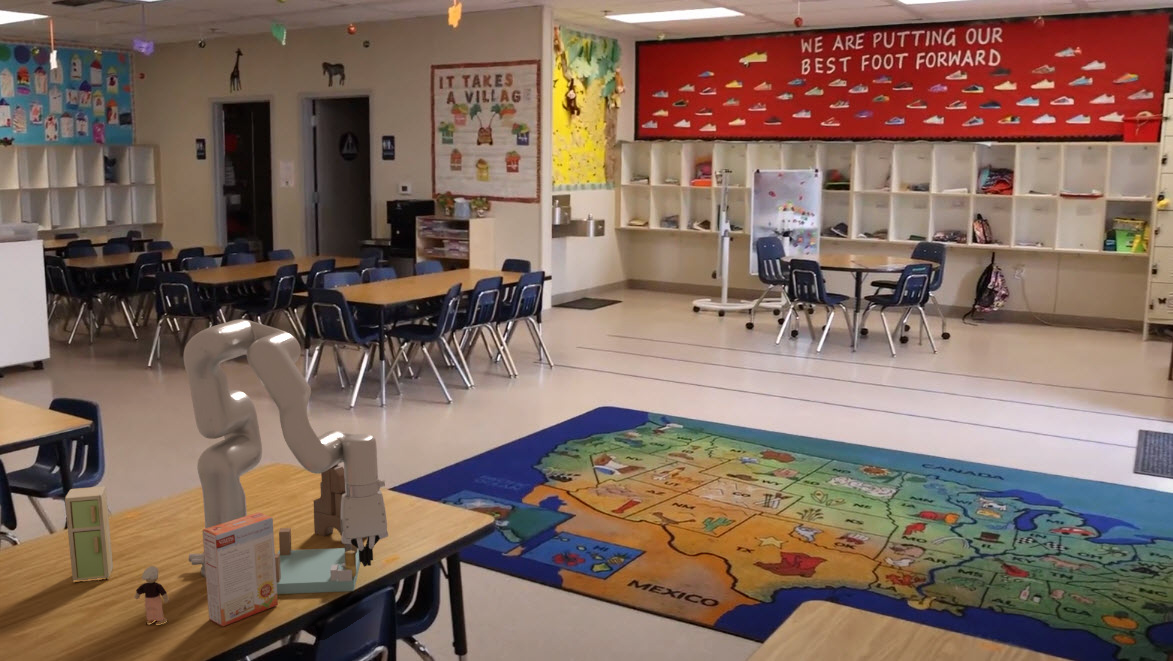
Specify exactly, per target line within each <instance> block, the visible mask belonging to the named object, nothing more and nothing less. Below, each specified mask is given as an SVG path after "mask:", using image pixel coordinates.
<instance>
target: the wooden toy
mask: <svg viewBox="0 0 1173 661" xmlns="http://www.w3.org/2000/svg"><path fill="white" fill-rule="evenodd" d="M320 476H321V481H320V483H319V484H320V497H319V498H316V499H314V500H313V526H314V527H313V528H314V534H315V535H319V536H323V537H325V536H328V535H331V534H333V533H334V529H335V530H337V531H338V533H339V535H340V536H341V538H342V532H341V499H342V495H343V494H345V476H344V466H343V465H339V464H337V465H335V466H333V467H332V468H330V469H329V470H327V471H325V472H323V473H320ZM364 539H367V537H363V538H362V540H364Z"/></svg>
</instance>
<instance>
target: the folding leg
mask: <svg viewBox="0 0 1173 661" xmlns="http://www.w3.org/2000/svg"><path fill="white" fill-rule="evenodd" d="M344 548H345V569H346V570H347V569H352V577H354V576H356V552H355V551H352V545H351V544H344Z"/></svg>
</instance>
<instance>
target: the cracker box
mask: <svg viewBox="0 0 1173 661" xmlns="http://www.w3.org/2000/svg"><path fill="white" fill-rule="evenodd" d="M274 535H275V534H274V518H273V517H272V516H269V515H267V514H264V513H261V512H259V511H257V512H255V513H251V514H249V515H248V514H247V516H245V517H241V518H238V519H235V520H232V521H229V522H225V523H222V524H219V525H216V526H212V527H209V528H206V529H205V528H203V529H202V542H203V543H202V544H203V552H204V558H205V571H206V577H205V581H206V593H207V596H206V597H207V608H208V609H207V610H208V611H207V612H208V619H209V620H210V621H212V622H214V623H215V624H217V625H219V626H221V627H225V626H228V625H231V624H233V623H235V622H238V621H240V620H243V619H245V618H248V617H251V616H253V615H256V614H258V613H261V612H263V611H267V610H268V609H272V608H274V607H276V606H278V604H279V603H278V594H277V582H276V565H275V554H276V553H275V551H276V550H275V536H274Z"/></svg>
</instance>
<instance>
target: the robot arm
mask: <svg viewBox="0 0 1173 661" xmlns="http://www.w3.org/2000/svg"><path fill="white" fill-rule="evenodd" d="M301 349H302V348H301V345H300V342H299V341H298V340H297V338H296V337H295V336H294V335H292V334H291V333H289V332H287V331H285V330H281V329H279V328H276V327H273V326H269V325H267V324H266V325H265V324H262V323H260V322H256V321H252V320H249V319H233V320H229V321H227V322H224V323H219V324H217V325H216V324H215V325H213V326H210V327H207V328H205V329H203V330H201V331H199V332H198V333H196V334H194V335H192V336H191V338H190V339H189V340H188V342H187V343H186V345H185V347H184V351H183V364H184V368H185V372H186V374H187V380H188V384H189V388H190V389H189V390H190V396H191V397H190V398H191V401H192V402H191V403H192V407H193V408H192V409H193V412H194V413H193V414H194V417H195V424H196V427H197V430H198V432H199V434H200V435H201V436H203V438H206V439H209V440H214V439H219V438H222V437H223V439H222V440H220V441H218V442H216V443H214V444H212V445H211V446H209V447H207V448H206V449H205V450H204V451H203V452H202V453H201V455H200V456H199V458H198V460H197V467H196V468H197V474H198V479H199V481H200V485H201V490H202V499H203V511H204V512H203V514H204V529H206V528H209V527H212V526H216V525H219V524H222V523H225V522H229V521H232V520H235V519H238V518H241V517H245V516H248V512H247V499H246V497H247V496H246V493H245V489H244V487H243V485H242V483H241V480H240V479H241V478H240V477H242V476H243V475H244V474H246V473H248V472H250V471H251V470H253V469H254V468H256V467H257V466H258V465H259V463H260V462H261V460H262V457H263V445H262V438H261V432H260V427H259V420H258V415H257V409H256V406H255V404H254V402H253V400H252V398H250V396H249V395H248V394H246V392H243V391H241V390H237V389H232V390H230V385H229V379H228V376H227V374H226V372H225V371H224V369H223V367H222V366H221V363H223V362H226V361H229V360H232V359H235V358H239V357H241V356H244V355H246V360H247V362H248V364H249V366H250V368H251V370H252V371H253V373H254V374H255V375H256V377H257V378H258V380H259V381H260V383H261V384H262V386H263V387H264V389H265V390H266V392H267V393H268V394H269V395H268V396H270V398H271V399H272V400H273V402H274V404H275V405H276V407H277V409H278V413H279V414H278V415H279V421H280V422H279V423H280V428H281V432H282V436H283V439H284V442H285V443H286V445H287V447H288V449H289V450H290V451H291V453H292V455H293V456H294V457H295V459H296V460H297V462H298V463H299V464H300V465H301V466H302V468H304V469H305V470H306V471H307V472H310V473H312V474H321V473H323V472H325V471H327V470H329V469H330V468H332V467H333V466H335V465H337V464H338V465H339V464H341V463H343V468H344V476H345V494H343V495H342V499H341V532H342V537H341V540H340V541H341V543H342V544H343V545H345V544H353V545H354V546H355V547H357V548H358V549H359V561H360V563H362V565H363V567H367V566H372V561H374V551H373V549H374V548H375V545H376V544H377V543H378V542H379V541H380V540H383V539H386V538H388V536H389V533H388V522H387V512H386V506H385V501H384V496H383V493H382V492H383V491H382V490H381V488H382V487H385V486H386V482H385V480H381V479H379V470H378V467H379V466H378V450H377V441H376V438H375V437H374V436H373V435H372V434H367V433H355V434H354V433H349V432H345V431H342V430H330V431H327V432H325V433H323V434H322V435H320V436H318V435H317V434H316V432H315V431H314V429H313V427H312V425H311V423H310V420H309V417H308V416H309V415H308V405H309V402H310V401H309V400H310V398H311V395H312V394H311V393H312V388H311V386H310V384H309V383H308V382H307V380H306V379H305V376H303V374H302V373H301V371H300V370H299V368H298V367H297V365H296V363H297V362H298V360H299V359H300V357H301V352H302V350H301ZM363 537H366V544H365V545H364V542H363V539H362V538H363ZM188 563H191V565H192V566H194V565H195V566H197V565H201V568H200V574H201V576H202V577H204V578H206V571H205V558H204V551H203V553H189V555H188Z"/></svg>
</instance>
